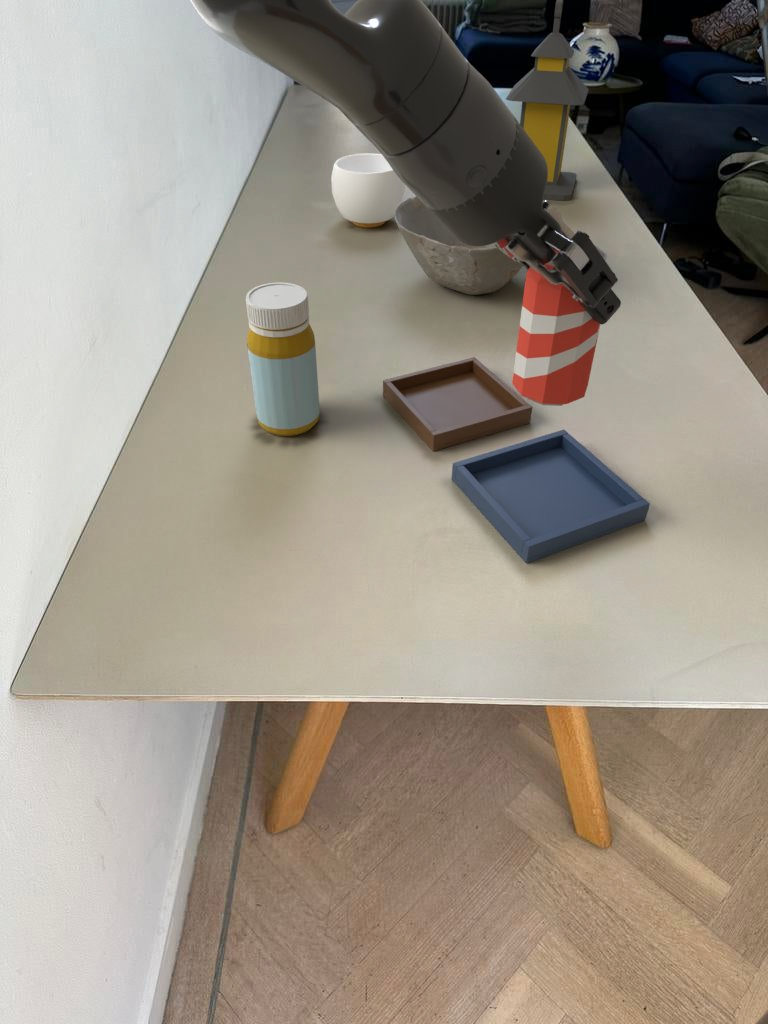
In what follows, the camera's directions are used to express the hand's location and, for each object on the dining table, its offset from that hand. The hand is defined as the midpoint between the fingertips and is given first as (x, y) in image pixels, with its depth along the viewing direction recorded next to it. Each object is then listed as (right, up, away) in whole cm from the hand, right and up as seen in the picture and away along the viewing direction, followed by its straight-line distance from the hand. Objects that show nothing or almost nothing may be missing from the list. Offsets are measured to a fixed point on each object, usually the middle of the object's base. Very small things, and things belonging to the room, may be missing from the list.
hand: (581, 295), depth 60 cm
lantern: (+14, +46, +87) cm, 99 cm away
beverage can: (-1, -7, +5) cm, 9 cm away
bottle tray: (-7, -5, +27) cm, 29 cm away
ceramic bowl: (-3, +17, +54) cm, 56 cm away
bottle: (-26, -7, +26) cm, 37 cm away
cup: (-18, +33, +72) cm, 82 cm away
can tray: (0, -16, +15) cm, 22 cm away
